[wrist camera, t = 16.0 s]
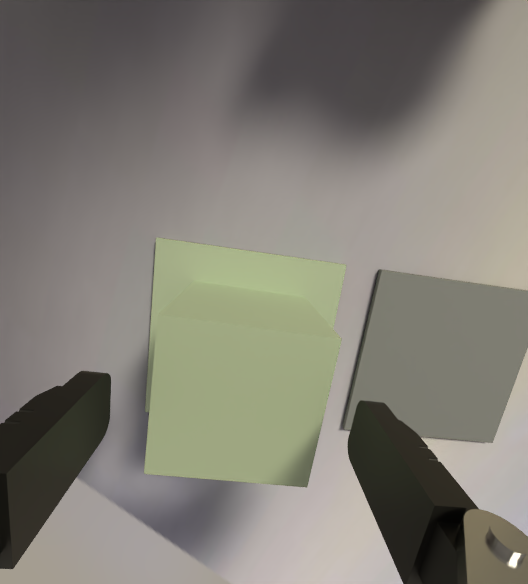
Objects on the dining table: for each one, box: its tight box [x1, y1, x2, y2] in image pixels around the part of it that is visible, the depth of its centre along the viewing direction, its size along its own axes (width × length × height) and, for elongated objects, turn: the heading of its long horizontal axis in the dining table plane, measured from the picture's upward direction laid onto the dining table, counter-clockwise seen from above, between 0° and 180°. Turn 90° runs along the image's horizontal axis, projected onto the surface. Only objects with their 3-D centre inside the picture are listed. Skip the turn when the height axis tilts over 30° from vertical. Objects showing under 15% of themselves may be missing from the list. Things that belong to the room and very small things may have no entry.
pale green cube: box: [144, 281, 342, 487], centre depth 12 cm, size 6×6×6 cm
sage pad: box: [145, 238, 346, 412], centre depth 15 cm, size 10×10×1 cm
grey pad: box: [343, 270, 528, 443], centre depth 16 cm, size 10×10×1 cm
